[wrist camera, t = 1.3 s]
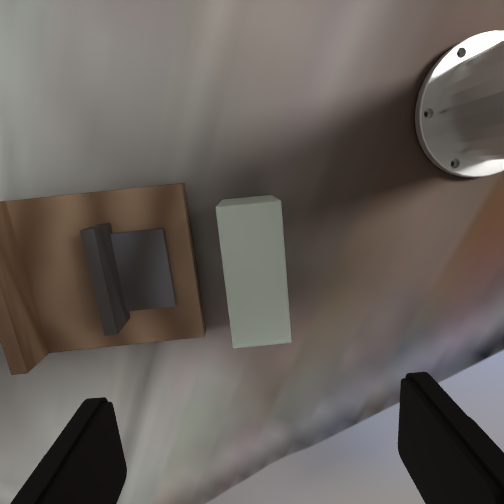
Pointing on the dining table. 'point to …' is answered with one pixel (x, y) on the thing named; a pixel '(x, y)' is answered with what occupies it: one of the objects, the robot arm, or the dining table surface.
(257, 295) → the pale green block
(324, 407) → the dining table surface
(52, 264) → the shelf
